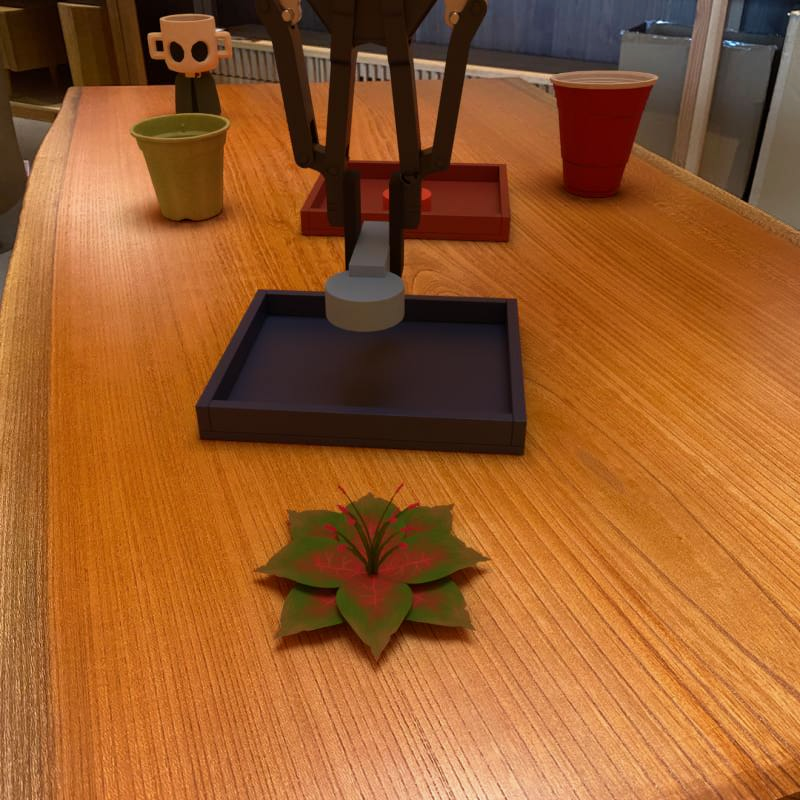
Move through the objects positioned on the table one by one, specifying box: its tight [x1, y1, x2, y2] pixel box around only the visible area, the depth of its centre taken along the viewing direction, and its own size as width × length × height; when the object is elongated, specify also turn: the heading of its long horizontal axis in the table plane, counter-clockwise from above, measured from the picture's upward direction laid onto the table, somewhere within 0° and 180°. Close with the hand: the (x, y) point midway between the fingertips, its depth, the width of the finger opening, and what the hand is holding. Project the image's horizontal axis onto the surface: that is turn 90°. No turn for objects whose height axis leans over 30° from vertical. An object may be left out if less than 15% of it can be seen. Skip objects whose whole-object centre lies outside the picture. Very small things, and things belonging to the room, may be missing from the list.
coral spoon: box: [383, 180, 432, 212], centre depth 85 cm, size 5×11×3 cm, turn 175°
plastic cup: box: [549, 70, 659, 198], centre depth 88 cm, size 11×11×12 cm
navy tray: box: [194, 288, 528, 456], centre depth 57 cm, size 20×17×2 cm
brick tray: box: [299, 159, 512, 242], centre depth 85 cm, size 20×17×2 cm
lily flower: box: [251, 482, 493, 662], centre depth 40 cm, size 12×12×5 cm
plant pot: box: [128, 113, 231, 222], centre depth 83 cm, size 9×9×9 cm
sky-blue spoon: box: [324, 221, 406, 332], centre depth 53 cm, size 5×11×3 cm, turn 175°
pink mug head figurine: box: [147, 13, 234, 116], centre depth 113 cm, size 11×7×13 cm, turn 96°
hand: (375, 271), depth 56 cm, fingers closed on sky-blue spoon, 2 cm apart
